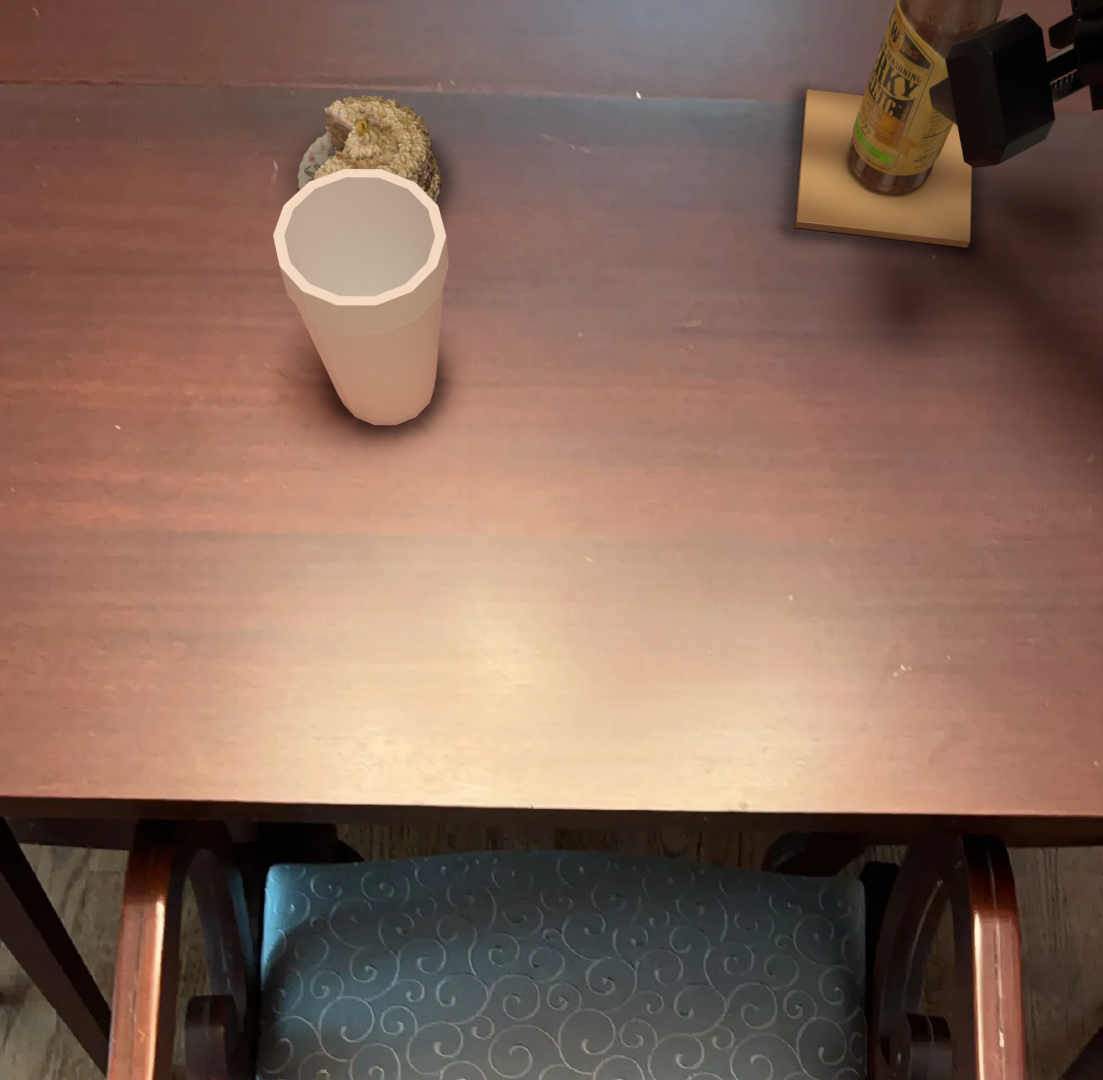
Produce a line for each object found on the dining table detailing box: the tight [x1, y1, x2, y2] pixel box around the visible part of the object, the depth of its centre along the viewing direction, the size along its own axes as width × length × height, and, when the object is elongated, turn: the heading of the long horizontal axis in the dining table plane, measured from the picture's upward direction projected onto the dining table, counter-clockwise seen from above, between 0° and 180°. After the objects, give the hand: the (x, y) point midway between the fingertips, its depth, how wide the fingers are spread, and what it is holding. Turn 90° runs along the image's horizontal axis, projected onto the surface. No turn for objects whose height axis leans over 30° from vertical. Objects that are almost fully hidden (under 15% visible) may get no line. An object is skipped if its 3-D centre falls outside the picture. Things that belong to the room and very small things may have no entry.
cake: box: [297, 94, 443, 204], centre depth 79 cm, size 10×10×5 cm
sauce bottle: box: [849, 0, 1004, 194], centre depth 73 cm, size 6×6×20 cm
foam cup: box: [272, 169, 450, 426], centre depth 71 cm, size 10×9×13 cm
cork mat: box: [794, 88, 973, 249], centre depth 83 cm, size 12×12×1 cm
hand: (992, 66), depth 70 cm, fingers open, 9 cm apart
